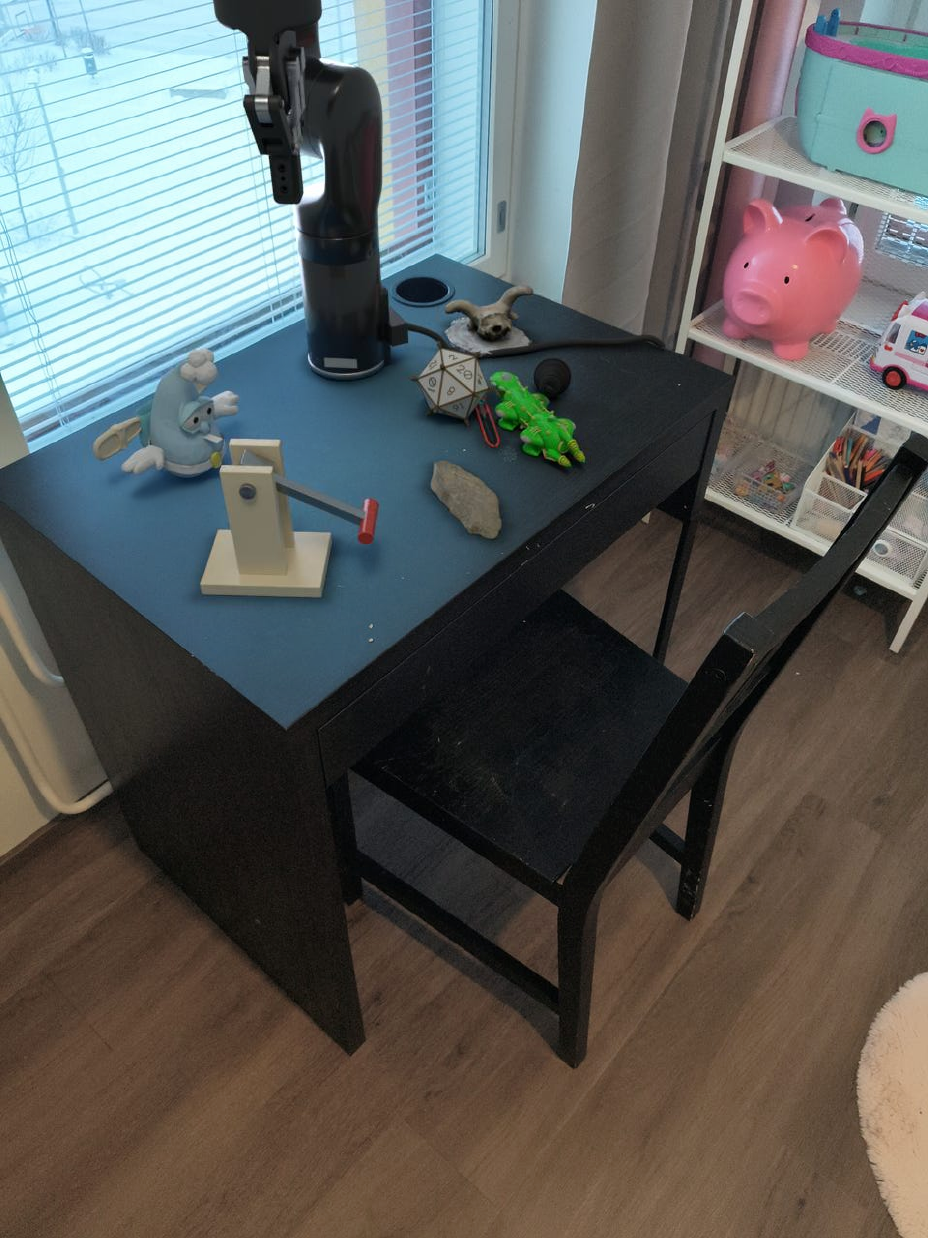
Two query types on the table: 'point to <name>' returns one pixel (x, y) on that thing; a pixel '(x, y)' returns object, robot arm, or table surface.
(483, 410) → the red paper clip
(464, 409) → the game die
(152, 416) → the toy figure
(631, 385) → the table surface
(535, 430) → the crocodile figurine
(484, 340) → the skull
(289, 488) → the lever
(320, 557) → the lever stand
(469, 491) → the stone
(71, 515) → the table surface
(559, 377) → the chess piece
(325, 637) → the table surface
